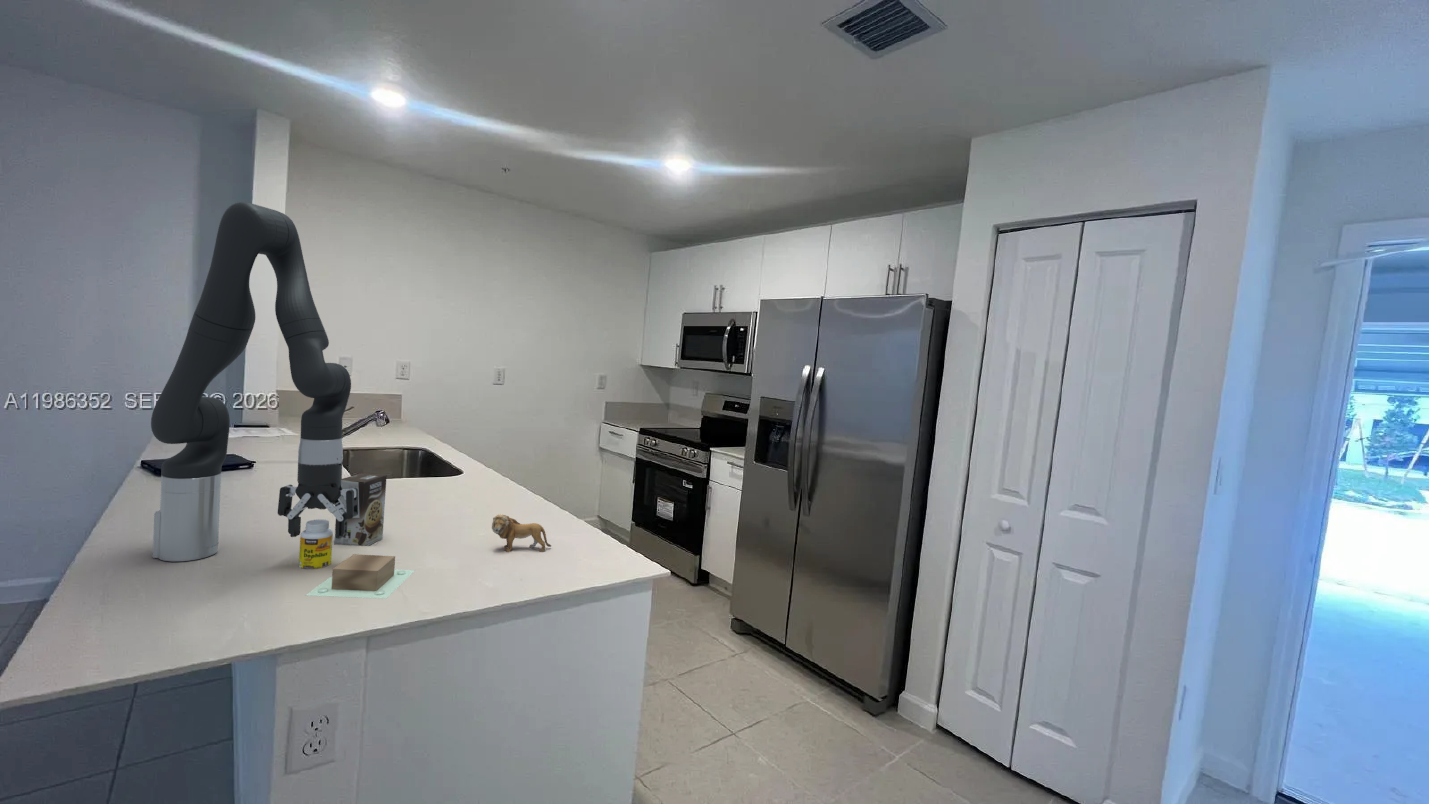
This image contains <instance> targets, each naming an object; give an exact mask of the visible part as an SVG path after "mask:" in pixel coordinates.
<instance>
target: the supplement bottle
mask: <svg viewBox="0 0 1429 804" xmlns="http://www.w3.org/2000/svg"><path fill="white" fill-rule="evenodd" d="M299 536H300V538H299V552H298V553H299V556H298V557H299V558H298V567H299V568H300V569H303V570H316V569H322V568H326V567H328V566H330V565H331V564H332V556H333V555H332V552H333V542H334V539H333V538H334V531H333V530H332V528H330V521H329V520H328V519H319V518H318V519H311V520H308V521H306V523H305V529H304V530H303V531H302V532H300V535H299Z"/></svg>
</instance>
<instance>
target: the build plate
mask: <svg viewBox="0 0 1429 804" xmlns="http://www.w3.org/2000/svg"><path fill="white" fill-rule="evenodd" d="M415 571H416V569H415V570H414V569H395V568H394V576H393V577H391V578H390V579H389V580H388V581H387V582H386V583H385V584H384V585H383V586H382V587H381V588H379V589H378V590H377V591H360V590H335V589H332V575H331V576H330V577H328V578H327V579H326V580H324V581H323V582H322V583H320V584H319V585H317V586H316V587H314V588H313V589H312V590H310V591H309V592H308V593H306V594H305V595H304V596H307V597H308V596H309V597H332V598H334V597H335V598H358V599H362V598H363V599H382V600H383V599H385V600H386V599H388V598H389V597H390V596H391V595H392V594H393V593H394V592H395V591H396V590H397V589H398V588H399V587H400V586H401V585H402V584H403V583H404V582H405V581H406V580H407V579H408V578H409V577H410V576H411V575H413V574H414V572H415Z"/></svg>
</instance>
